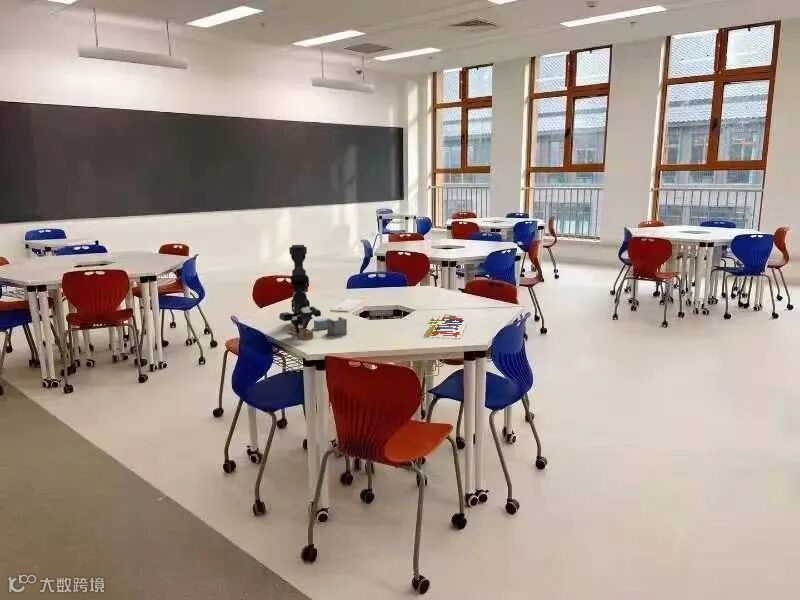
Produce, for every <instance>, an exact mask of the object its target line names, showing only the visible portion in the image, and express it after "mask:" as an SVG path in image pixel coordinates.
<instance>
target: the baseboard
mask: <svg viewBox="0 0 800 600" xmlns="http://www.w3.org/2000/svg"><path fill="white" fill-rule="evenodd" d="M361 302H362V303H363V302H364V300H362V299H351V298H350V299H349V298H347V299H345V300H343V301H342V302H340V303H339V304H337V305H335V306H334V307H333V308H332V307H331V308H330V312H332V311H338V312H337V313H350V312H352V311H353V310H354V309H355V308H357V307H358V306H359V305H361V304H362V303H361ZM360 303H361V304H360ZM357 305H358V306H357ZM356 306H357V307H356ZM352 309H353V310H352Z"/></svg>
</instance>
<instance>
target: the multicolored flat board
mask: <svg viewBox="0 0 800 600" xmlns="http://www.w3.org/2000/svg"><path fill="white" fill-rule="evenodd" d="M446 315H447V316H449V317H445V316H446ZM439 317H440V316H439ZM457 317H458V316H457ZM457 317H456V315H451V314H447V313H445V314H444V317H443V318H442V320H439V318H438V319H437V320H434V319H433V317H432V318H431V319H430V320H429V322H430V321H436V322H430V323H429V322H427V325H428V324H432V323H434V324H436V323H438V322H437V321H445V320H444V319H449V320H446V321H445V323H442V324H447V323H462V322H463V321H464V320H462V319H463V318H457ZM455 320H456V321H459V322H452V321H455ZM458 325H462V324H447V325H439V324H437V326H438V327H437V326H436V325H430V326H432V327H429V329H428V330H427V331H426V333H425V334H424V336H426V337H425V338H427V337H429V336H436V335H438V334H439V333H440V334H453V335H443V336H455V337H457V335H461V334H459V333H460V332H456V333H447V332H453V331H437V330H440V329H455V330H458V328H457V327H459V326H458ZM435 326H436V327H437V328H436V327H435ZM439 326H449V327H439ZM450 326H456V328H453V327H450ZM434 328H435V329H434ZM433 330H436V331H433ZM431 334H433V335H431Z"/></svg>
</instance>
